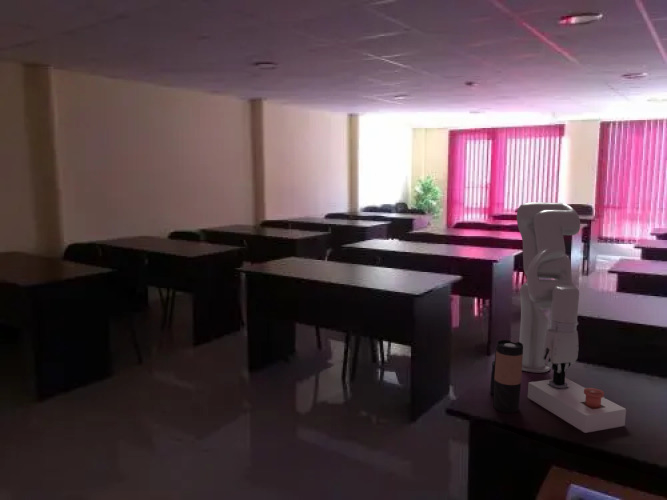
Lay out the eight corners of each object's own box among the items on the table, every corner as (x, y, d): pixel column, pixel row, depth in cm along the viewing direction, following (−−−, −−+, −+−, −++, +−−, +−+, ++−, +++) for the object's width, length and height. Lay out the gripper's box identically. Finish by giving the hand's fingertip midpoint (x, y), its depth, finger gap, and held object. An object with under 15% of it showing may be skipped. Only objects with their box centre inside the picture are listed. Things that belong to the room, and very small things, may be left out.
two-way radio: (490, 388, 177) (492, 344, 175) (504, 390, 176) (507, 345, 174) (490, 395, 172) (492, 350, 170) (504, 397, 171) (507, 351, 168)
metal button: (544, 394, 169) (545, 380, 169) (558, 392, 171) (559, 379, 170) (556, 401, 164) (557, 387, 164) (570, 399, 166) (571, 385, 165)
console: (527, 397, 170) (528, 382, 170) (563, 392, 175) (564, 377, 174) (584, 432, 148) (586, 415, 147) (624, 425, 152) (626, 409, 152)
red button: (578, 403, 156) (579, 389, 155) (592, 401, 157) (594, 386, 157) (592, 411, 151) (593, 396, 150) (607, 409, 153) (608, 394, 152)
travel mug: (499, 413, 159) (503, 348, 156) (488, 402, 166) (492, 340, 163) (524, 412, 160) (528, 347, 157) (511, 401, 168) (515, 339, 164)
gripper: (573, 320, 170) (569, 376, 173) (534, 324, 165) (530, 381, 168) (592, 327, 163) (587, 385, 166) (551, 331, 158) (547, 390, 161)
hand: (558, 383), depth 167 cm, fingers closed
